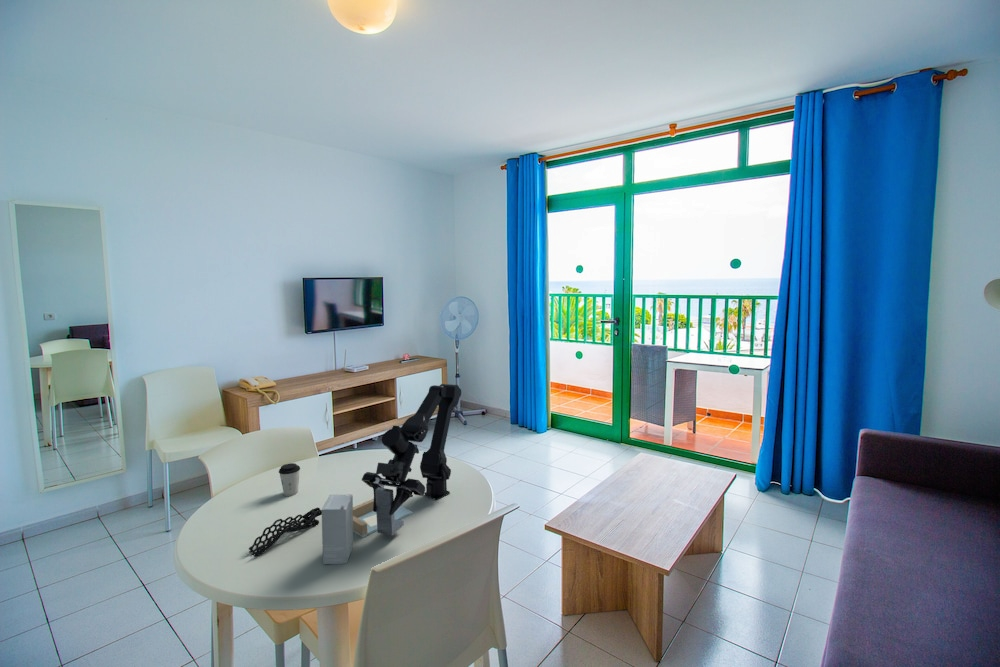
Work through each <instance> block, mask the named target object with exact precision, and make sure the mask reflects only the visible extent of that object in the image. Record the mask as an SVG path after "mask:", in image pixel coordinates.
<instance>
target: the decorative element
mask: <svg viewBox="0 0 1000 667" xmlns="http://www.w3.org/2000/svg"><path fill="white" fill-rule="evenodd" d="M320 516H322V511H321V508H320V507H315V508H312V509H311V510H309V511H308V512H305V513H304V514H297V515H296V516H295V517H293V516H288V517H286V518H285V519H282V518H279V519H278V518H277V519H276V520H274V522H273V523H272V524H271V525H270V526H267V527H265V528H264V529H263V532H262V534H261V535H260V536H258V537H256V538H255V539H254V542H253V544H252V545H251V546H249V547H248V550H249V551H248V553H250V554H251V556H252V555H253V557H258V556H261V555H262V554H264V552H266V551H267V550H268V549H270V548H271V547H273V546H274V545H275V543H276V542H278V540H279V539H280V538H281V537H282V536H283V535H284V534H285V533H292V532H297V531H302V530H305V529H308V528H310V527H311V528H312V527H317V526H318V525H319V524H320V522H319V519H316V518H317V517H320ZM288 520H289V521H288ZM278 522H279V523H278ZM283 523H284V524H283ZM282 524H283V525H282ZM316 525H317V526H316ZM273 527H274V529H273V530H272V528H273ZM266 531H267V532H266ZM270 534H271V536H269V535H270ZM263 537H264V538H265V539H264V540H263ZM260 544H261V545H260ZM254 554H255V555H254Z"/></svg>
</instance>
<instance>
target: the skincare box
mask: <svg viewBox="0 0 1000 667" xmlns="http://www.w3.org/2000/svg"><path fill="white" fill-rule="evenodd" d="M353 500H354V499H353V494H349V493H348V494H330V495H329V496H328V498H327V499H326V501H325V502H324V504H323V506H322V507H321V508H320V510H321V511H322V514H321V543H322V564H323V565H340V564H347V563H348V561H349V558H350V556H351V553H352V550H353V547H354V532H353V507H354V501H353Z"/></svg>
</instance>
